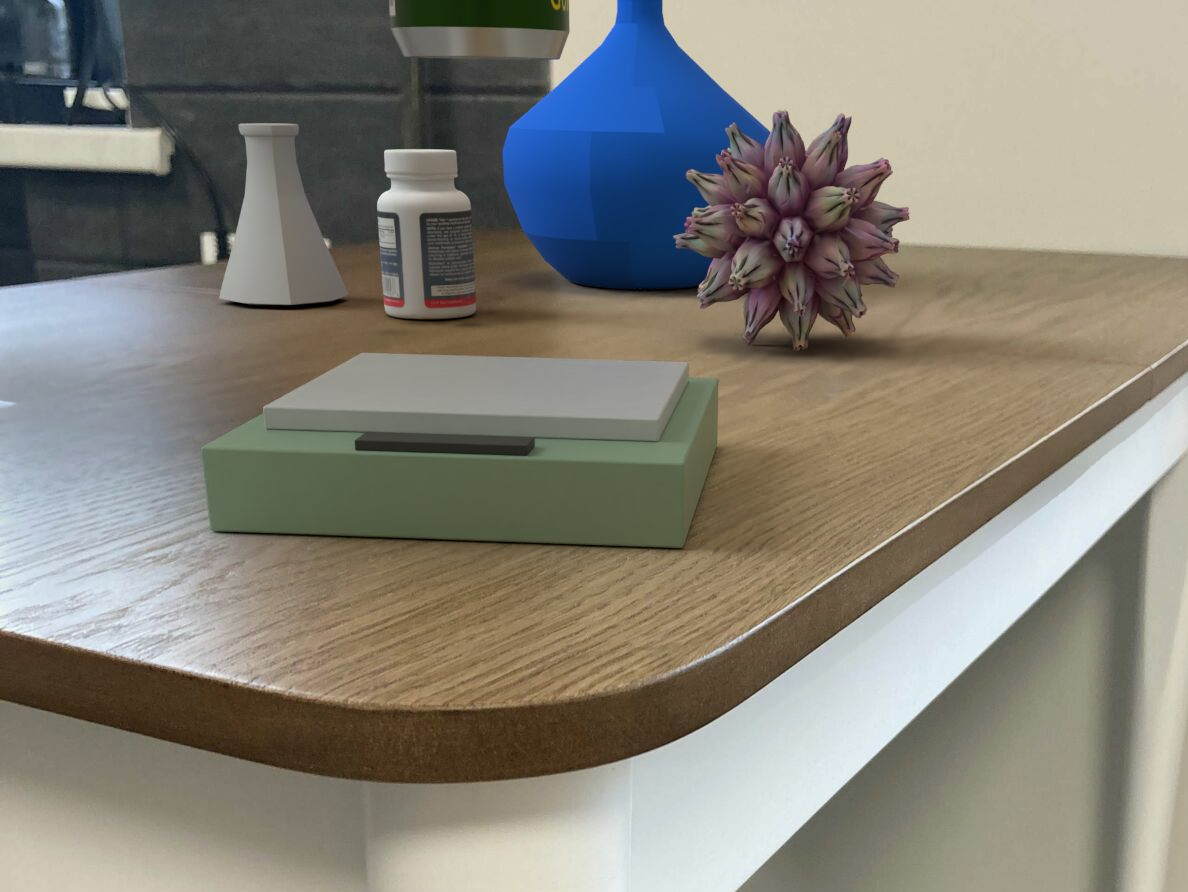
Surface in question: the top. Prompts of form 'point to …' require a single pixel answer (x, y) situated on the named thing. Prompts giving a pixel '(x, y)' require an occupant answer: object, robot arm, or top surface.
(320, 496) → the scale
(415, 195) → the pill bottle
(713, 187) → the flower
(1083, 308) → the top surface
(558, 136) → the vase
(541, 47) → the beer can
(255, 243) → the flask
